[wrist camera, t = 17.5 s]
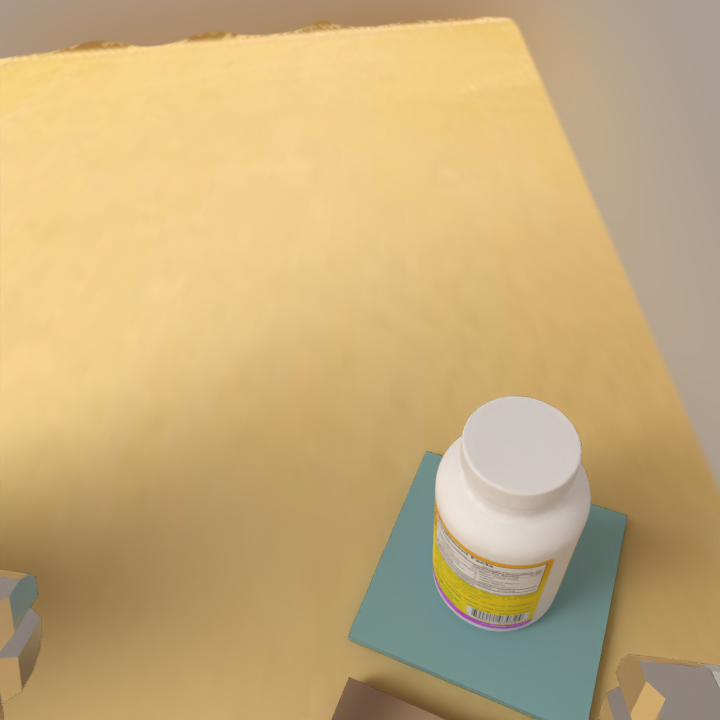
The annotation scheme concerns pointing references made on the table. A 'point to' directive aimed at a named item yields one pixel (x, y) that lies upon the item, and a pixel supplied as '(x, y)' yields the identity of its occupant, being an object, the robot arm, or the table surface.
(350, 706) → the brown wooden square frame
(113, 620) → the table surface
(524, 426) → the supplement bottle
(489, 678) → the teal mat
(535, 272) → the table surface
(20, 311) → the table surface
